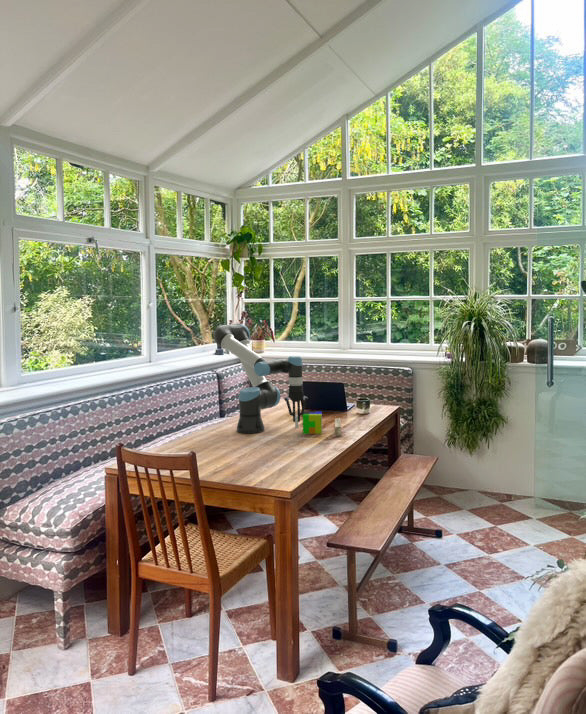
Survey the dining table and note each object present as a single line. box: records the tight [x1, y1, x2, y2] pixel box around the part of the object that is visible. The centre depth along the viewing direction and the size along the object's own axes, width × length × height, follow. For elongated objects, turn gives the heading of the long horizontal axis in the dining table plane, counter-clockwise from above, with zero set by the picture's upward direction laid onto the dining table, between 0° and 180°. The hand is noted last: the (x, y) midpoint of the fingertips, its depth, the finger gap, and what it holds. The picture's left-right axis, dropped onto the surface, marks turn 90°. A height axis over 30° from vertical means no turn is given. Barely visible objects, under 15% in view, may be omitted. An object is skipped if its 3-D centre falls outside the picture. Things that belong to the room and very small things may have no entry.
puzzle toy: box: [302, 411, 323, 435], centre depth 338 cm, size 10×10×10 cm
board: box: [334, 417, 342, 437], centre depth 337 cm, size 3×22×5 cm, turn 176°
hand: (296, 427), depth 339 cm, fingers closed
